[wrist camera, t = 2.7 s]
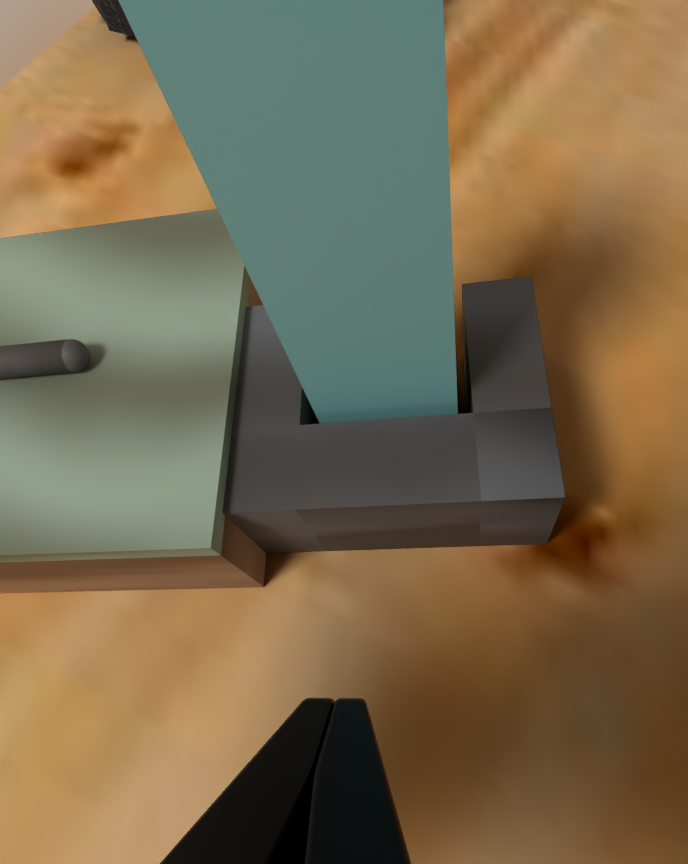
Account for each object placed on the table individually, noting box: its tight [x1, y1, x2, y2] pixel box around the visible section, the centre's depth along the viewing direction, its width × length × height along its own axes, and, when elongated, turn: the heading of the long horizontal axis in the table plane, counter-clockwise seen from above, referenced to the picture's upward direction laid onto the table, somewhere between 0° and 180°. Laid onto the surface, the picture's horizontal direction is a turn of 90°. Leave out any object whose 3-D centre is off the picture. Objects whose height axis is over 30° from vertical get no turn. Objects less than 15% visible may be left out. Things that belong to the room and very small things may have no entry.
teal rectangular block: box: [118, 0, 458, 424], centre depth 14 cm, size 3×4×16 cm
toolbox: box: [0, 209, 565, 593], centre depth 20 cm, size 12×27×6 cm, turn 89°
